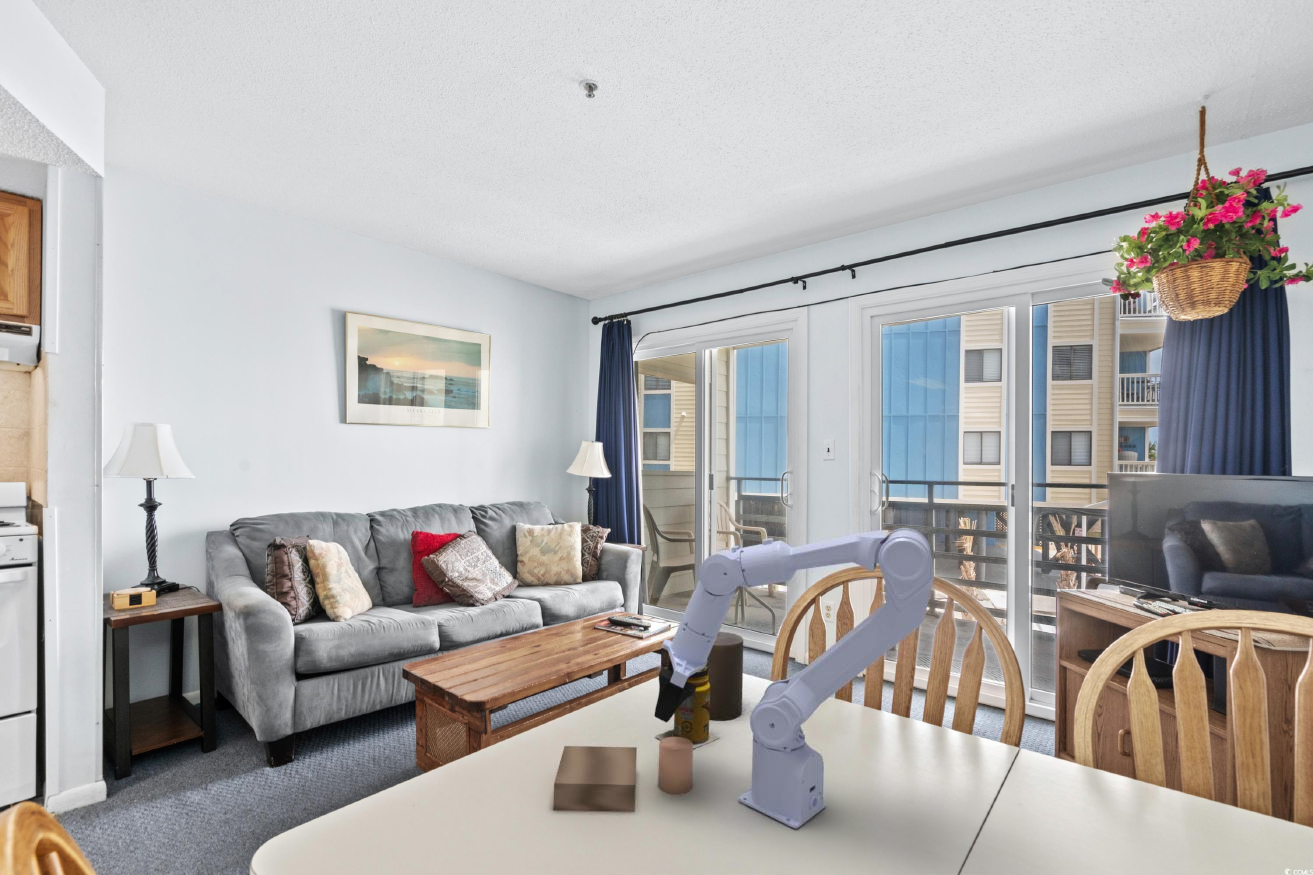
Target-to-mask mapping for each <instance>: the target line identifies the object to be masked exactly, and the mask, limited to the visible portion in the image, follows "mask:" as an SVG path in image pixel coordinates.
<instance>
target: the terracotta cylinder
mask: <svg viewBox="0 0 1313 875" xmlns="http://www.w3.org/2000/svg"><path fill="white" fill-rule="evenodd" d="M693 759H694V749H693V743H692V742H691V741H690V740H688V739H686V738H682V737H668V738H664V739H662V740H660V741H659V742H658V771H657V773H658V776H657V777H658V778H657V783H658V784H657V785H658V786H657V787H658V789H659V790H660V791H662V792H663V793H665V794H668V795H673V796H675V795H676V796H677V795H680V796H681V795H684V794H687V793H689V792H690V791H691V790H692V789H693V775H694V774H693V771H694V770H693V769H694V767H693V766H694V763H693V762H694V760H693Z"/></svg>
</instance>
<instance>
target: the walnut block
mask: <svg viewBox="0 0 1313 875" xmlns="http://www.w3.org/2000/svg"><path fill="white" fill-rule="evenodd" d="M637 749H638V748H637V746H635V747H634V746H633V747H632V746H631V747H630V746H589V745H586V746H585V745H564V747H563V751H562V754H561V757H560V761H559V765H558V768H557V771H556V775H555V779H554V782H553V806H552V807H553V808H552V811H557V812H563V811H564V812H615V813H617V812H619V813H620V812H623V813H627V812H628V813H635V811H636V810H635V809H636V807H635V806H636V785H637V784H636V783H637V780H636V778H637V756H638V755H637V753H638V752H637V751H638V750H637Z"/></svg>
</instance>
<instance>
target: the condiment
mask: <svg viewBox="0 0 1313 875" xmlns="http://www.w3.org/2000/svg"><path fill="white" fill-rule="evenodd" d="M687 682H689V683H691V684H693V685H695V686H697V687H696V691H695V692H694V694H693V695H692V696H690V697H688V698H687V699H686V700H685V701H684V702H683V703H682V704H681V705H680V706H679V707H678V709H677V710H676V712H675V713H674V715H673V720H674V721H673V729H669V730H667V731H665V732H662V733H659V734H656V735H654V737H655V738H657V739H658V740H660V741H661V740H662V739H664V738H668V737H682V738H686V739H688V740H690V741H691V742H692V743H693V750H694V749H696V748H699V747H701V746H705V745H708V743H711V742H713V741H715V740H717V739H719V738H720V736H718V735H716V734H713V733H711V732H710V719H709V711H710V684H709V682H708V668H707V667H706V666H705V667H704V668H703V669H701V670H699V671H698V672H696V673H694V674H692V675H691V676H690V677H689V679H688V680H687Z"/></svg>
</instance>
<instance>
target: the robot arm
mask: <svg viewBox="0 0 1313 875" xmlns="http://www.w3.org/2000/svg"><path fill="white" fill-rule="evenodd" d="M774 540H775V539H774V538H773V537H768V538H765V539H763V540H762V543H759V544H756V545H755V544H754V545H749V546H744V547H740V545H733V546H732V547H731V548H730V549H723V550H720V551H718V552H715V553H714V554H711V555H710V556H708V557H707V558H705V559H704V560H703V561H702V562H701V565H700V567H699V570H698V578H699V580H698V582H697V584H696V587H695V589H694V590H693V592H692V595H691V596H690V598H689V599H690V600H689V601H688V604H687V605H686V608H685V611H684V614H683V615H682V618H681V620H680V622H679V625H678V627H677V629H676V632H675V634H674V637H673V638H672V641H671V640H670V639H664V640H663V641H662V642H663V643H662V645H661V648H662V649H664V650H666V651H667V652H668V655H669V658H668V659H669V663H668V668H666V667H664V666H662V667H661V668H660V669H659V673H658V684H659V685H658V687H659V689H658V696H657V700H656V701H657V702H656V705H655V709H654V717H655V718H656V719H658V720H660V721H663V722H664V723H668V722H669V721H670V720H671V719H672V717H674V713H675V712H676V710H677V709H678V707H679V706H680V705H681V704H682V703H683V702H684V701H685V700H686V699H687V698H688V697H690V696H692V695H693V694H694V692H695V691H696V687H697V686H695V685H693V684H691V683H689V682H687V680H688V679H689V677H690V676H691V675H692V674H694V673H696V672H698V671H699V670H701V669H703V668H704V667H705V666H706V664H707V658H708V656H709V653H710V651H711V649H712V647H713V644H714V642H715V640H716V637H717V635H718V633H719V631H720V630H721V628H722V625H723V623H724V621H725V618H726V616H727V614H728V612H729V609H730V604H731V603H732V601H733V600H732V599H733V597H734V596H735V594H736V589H737V588H740V587H742V588H746V589H749V588H755V587H761V586H767V585H773V584H780V583H784V582H790V581H792V578H793V577H794V575H795V574H796V573H797V571H798V570H807V569H808V570H809V569H814V568H821V567H829V566H835V565H842V564H843V565H844V564H850V563H852V564H853V563H854V564H856V565H859V566H860V567H863V568H864V569H867V570H868V571H871V572H875V569H876V567H877V564H878V566H879V568H880V572H881V575H882V578H883V580H884V582H885V603H883V604H882V605H881V606H879V607H878V608H877V609H876V610H875V611H874V612H872V613H871V614H870V615H868V616H867V617H866V618H864V619H863V620H862V621H861V622H859V623H858V624H857V625H856V626H855V627H854V628H852V629H851V630H850V631H849V632H847V633H846V634H845V635H844V636H842V637H841V638H840V639H838V641H836V642H835V643H834V644H833V645H831V646H830V647H829V648H828V649H827V650H825V651H824V652H823V653H821V654H820V655H819V656H818V657H817V658H815V659H814V660H813V661H812V662H811V663H809V664H808V665H807V666H806V667H805V668H804V669H802V670H800V671H797V672H795V673H793V674H792V675H791V676H790V677H788V678H786V679H781V680H780V679H779V680H776V681H773V682H772V683H770V684H769V685H768V686H767V688H766V689H765V691H764V692H763V693H764V694H763V695H762V697H761V698H760V700H759V701H758V703H757V704H756V705H755V706H754V707H753V709H752V710H751V713H750V715H749V725H750V729H751V730H750V731H751V732H752V755H751V756H752V757H751V760H752V762H751V789H750V790H748V791H746V792H744V793H743V794H741V795H740V796H738V801H739V803H742V804H745V805H746V806H749V808H752V809H753V810H756V811H758V812H760V813H762V814H764V815H765V816H768V817H771V818H772V819H775V820H776V821H779V822H780V823H781V824H785V825H786V826H788V827H791V828H792V829H798V828H800V827H801V826H802V825H803V824H805V823H806V822H807V821H809V820H811V819H812V818H813V817H814V816H816V815H817V814H818V813H819V812H821V811H822V810H823V809H824V808H826V806H827V803H826V802H825V801H824V781H825V780H824V779H825V778H824V775H825V774H824V773H825V772H824V771H825V767H824V766H825V764H824V759H823V756H822V754H821V753H820V752H818V751H817V750H815V749H814V748H812V747H811V746H810V745H809V744H808V743H807V741H806V735H805V734H804V730H803V728H802V727H801V726H802V725H803V724H804V723H805V722H807V720H809V718H810V717H811V716H812V715H813V714H814V712H815V711H816V710H817V709H818V708H819V707H820V706H821V704H823V703H824V702H826V701H827V700H828V699H829V698H830V697H831V696H833V695H834V694H835V693H837V692H839V691H840V690H841V689H842V688H843V687H844V686H846V685H847V684H848V683H849V682H851V681H852V680H853V679H855V678H856V677H857V676H859V675H860V673H863V671H865V669H867V668H869V667H870V666H872V664H874V663H875V662H876V661H877V660H880V658H881V657H883V656H884V655H885V654H886V653H888V651H890V650H891V649H893V648H894V647H895V646H896V645H898V644H899V643H900V642H901V641H903V640H904V639H905V638H906V637H908V636H910V634H912V633H913V632H914V631H915V630H917V629H918V628H919V627H920V626H921V625H922V624H923V623H924V620H925V618H926V617H925V616H926V613H927V609H928V604H929V600H930V596H931V591H932V588H933V584H934V581H935V574H934V566H933V558H932V551H931V549H932V548H931V546H930V544H929V541H928V539H927V538H926V537H925V536H924V535H923V534H922V533H921V532H919V531H918V530H915V529H913V528H908V527H906V528H905V527H901V528H898V529H895V530H892V531H891V532H890V533H889V529H883V530H871V531H864V532H863V531H862V532H857V533H852V534H848V535H844V536H839V537H835V538H829V539H826V540H821V541H816V542H811V543H808V544H803V545H799V546H791V545H790V544H788V543H786V542H784V541H783V540H775V541H774Z"/></svg>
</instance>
